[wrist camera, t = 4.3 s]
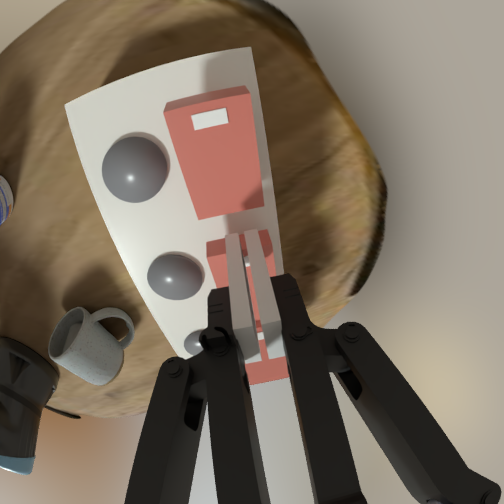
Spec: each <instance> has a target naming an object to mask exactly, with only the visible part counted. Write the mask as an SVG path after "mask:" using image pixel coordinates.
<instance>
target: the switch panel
mask: <svg viewBox="0 0 504 504" xmlns="http://www.w3.org/2000/svg"><path fill="white" fill-rule="evenodd" d="M243 85H245V86H246V87H247V89H248V90H249V92H250V94H251V102H252V109H253V117H254V124H255V132H256V140H257V148H258V156H259V164H260V172H261V181H262V189H263V198H264V206H263V207H258V208H253V209H249V210H244V211H239V212H234V213H229V214H225V215H220V216H216V217H211V218H207V219H202V220H198V217H197V215H196V212H195V209H194V206H193V203H192V200H191V197H190V195H189V192H188V189H187V186H186V183H185V180H184V177H183V174H182V171H181V168H180V165H179V162H178V159H177V156H176V152H175V149H174V146H173V143H172V140H171V137H170V133H169V130H168V127H167V124H166V121H165V117H164V114H163V111H164V108H165V106H166V103H167V102H170V101H174V100H177V99H181V98H185V97H189V96H193V95H197V94H202V93H206V92H211V91H216V90H221V89H226V88H231V87H237V86H243ZM65 109H66V113H67V117H68V120H69V124H70V127H71V131H72V134H73V138H74V141H75V144H76V147H77V150H78V153H79V157H80V159H81V162H82V165H83V168H84V171H85V174H86V177H87V179H88V182H89V185H90V187H91V190H92V192H93V195H94V197H95V200H96V202H97V205H98V207H99V210H100V212H101V214H102V217H103V219H104V221H105V224H106V226H107V228H108V230H109V233H110V235H111V237H112V239H113V241H114V243H115V245H116V248H117V250H118V252H119V254H120V256H121V258H122V260H123V262H124V264H125V266H126V268H127V270H128V272H129V274H130V276H131V277H132V279H133V281H134V283H135V285H136V287H137V289H138V290H139V292H140V294H141V296H142V298H143V299H144V301H145V303H146V305H147V306H148V308H149V310H150V312H151V313H152V315H153V317H154V318H155V320H156V322H157V323H158V325H159V327H160V328H161V330H162V331H163V333H164V335H165V336H166V338H167V339H168V341H169V343H170V344H171V346H172V347H173V349H174V350H175V352H176V353H177V355H178V356H179V357H182V358H184V359H185V360H186V359H188V358H190V357H192V356H195V355H197V354H198V353H200V352H201V351H202V350H203V348H202V346H201V344H200V342H199V341H198V340H199V335H200V334H201V332H202V331H203V330H204V329H205V328H207V327H208V313H207V308H208V306H207V297H208V295H209V293H210V291H211V289H216V288H217V287H216V284H215V281H214V278H213V275H212V272H211V270H210V267H209V264H208V261H207V258H206V242H208V241H213V240H217V239H222V238H225V235H228V234H233V233H238V234H239V235H241V234H244V231H248V230H253V229H257V230H258V231H260V230H265V229H267V230H268V233H269V236H270V239H271V242H272V246H273V254H274V261H275V269H276V276H278V275H283V274H284V270H283V261H282V252H281V243H280V235H279V227H278V219H277V211H276V203H275V196H274V188H273V181H272V174H271V167H270V160H269V153H268V146H267V139H266V133H265V126H264V120H263V114H262V108H261V101H260V95H259V89H258V84H257V78H256V72H255V66H254V61H253V55H252V50H251V47H244V48H237V49H230V50H224V51H219V52H213V53H208V54H203V55H199V56H194V57H190V58H186V59H182V60H178V61H174V62H171V63H167V64H164V65H160V66H157V67H154V68H151V69H147V70H144V71H141V72H139V73H136V74H133V75H130V76H127V77H125V78H122V79H120V80H117V81H114V82H112V83H110V84H107V85H105V86H102V87H100V88H98V89H96V90H93V91H91V92H89V93H87V94H85V95H83V96H81V97H79V98H77V99H75V100H73V101H71V102H69V103H67V104H65Z"/></svg>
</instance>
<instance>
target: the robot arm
mask: <svg viewBox="0 0 504 504" xmlns="http://www.w3.org/2000/svg"><path fill="white" fill-rule="evenodd" d="M244 235H245V241H246V246H247V251H248V257H249V262H250V268H251V273H252V278H253V284H254V289H255V294H256V300H257V305H258V310H259V316H260V321H261V326H262V330H263V335H264V339H265V344H266V348H267V352H268V357H269V359H274V358H278V357H283V356H285V357H286V361H287V369H288V374H289V377H290V382H291V387H292V391H293V397H294V402H295V406H296V411H297V416H298V421H299V425H300V431H301V436H302V441H303V446H304V450H305V455H306V461H307V466H308V471H309V476H310V481H311V487H312V492H313V496H314V503H315V504H367V501H366V499H365V497H364V495H363V494H362V492H361V488H360V485H359V480H358V476H357V472H356V468H355V465H354V460H353V456H352V453H351V449H350V445H349V441H348V437H347V434H346V430H345V426H344V423H343V419H342V415H341V412H340V409H339V405H338V401H337V398H336V395H335V391H334V388H333V384H332V381H331V377H330V374H329V372H333V373H334V375H335V376H336V378H337V380H338V381H339V383H340V384H341V386H342V387H343V389H344V391H345V392H346V394H347V395H348V396H349V398H350V400H351V401H352V403H353V405H354V406H355V408H356V409H357V411H358V412H359V414H360V415H361V417H362V419H363V420H364V422H365V423H366V425H367V426H368V428H369V430H370V431H371V433H372V434H373V436H374V437H375V439H376V441H377V442H378V444H379V446H380V447H381V448H382V450H383V452H384V453H385V455H386V456H387V458H388V459H389V461H390V463H391V464H392V466H393V467H394V469H395V471H396V472H397V474H398V476H399V477H400V479H401V480H402V482H403V483H404V485H405V487H406V488H407V490H408V491H409V492H410V494H411V495H412V496H413V497H414V498H415V499H416V500H417V501H418V502H419V503H420V504H498V502H499V500H500V497H501V488H500V486H499V485H498V484H497V483H495V482H493V481H491V480H489V479H487V478H485V477H483V476H481V475H480V474H478V473H476V472H474V471H472V470H471V469H469V468H468V467H467V465H466V464H465V462H464V461H463V459H462V458H461V456H460V455H459V453H458V452H457V450H456V449H455V447H454V446H453V445H452V443H451V442H450V440H449V439H448V437H447V436H446V434H445V433H444V432H443V430H442V429H441V427H440V426H439V425H438V423H437V421H436V420H435V419H434V417H433V416H432V415H431V413H430V412H429V410H428V409H427V408H426V406H425V405H424V404H423V402H422V401H421V399H420V398H419V397H418V395H417V394H416V393H415V391H414V390H413V389H412V387H411V386H410V385H409V383H408V382H407V381H406V379H405V378H404V377H403V375H402V374H401V373H400V371H399V370H398V369H397V368H396V366H395V365H394V364H393V362H392V361H391V360H390V359H389V357H388V356H387V355H386V354H385V352H384V351H383V350H382V348H381V347H380V346H379V345H378V343H377V342H376V341H375V339H374V338H373V337H372V336H371V334H370V333H369V332H368V331H367V330H366V328H365V327H363V326H362V325H361V324H359V323H356V322H347V323H343V324H342V325H341V326H339V327H338V329H324V328H320V327H317V326H316V325H314V324H313V323H312V322H311V321H310V319H309V317H308V314H307V311H306V308H305V305H304V302H303V299H302V296H301V294H300V291H299V289H298V285H297V282H296V280H295V279H294V278H293V277H292V276H291V275H290V274H289V273H287V274H283V275H278V276H273V277H270V276H269V272H268V268H267V264H266V261H265V257H264V253H263V249H262V245H261V241H260V238H259V234H258V230H257V229H253V230H248V231H244ZM225 244H226V257H227V270H228V282H229V286H227V287H222V288H216V289H211V291H210V293H209V295H208V297H207V306H208V308H207V313H208V327H207V328H205V329H204V330H203V331H202V332H201V334H200V335H199V340H198V341H199V342H200V344H201V346H202V348H203V350H202V351H201V352H200V353H198V354H197V355H195V356H192V357H190V358H188V359H186V360H185V359H184V358H182V357H178V356H177V357H171V358H169V359H167V360H166V361H165V362H164V363H163V364H162V366H161V367H160V370H159V373H158V377H157V380H156V383H155V386H154V390H153V393H152V396H151V400H150V403H149V407H148V410H147V414H146V417H145V421H144V425H143V428H142V432H141V436H140V439H139V443H138V447H137V451H136V455H135V459H134V463H133V467H132V472H131V476H130V480H129V484H128V489H127V493H126V498H125V503H124V504H188V503H189V497H190V491H191V486H192V480H193V475H194V469H195V464H196V458H197V452H198V447H199V441H200V437H201V431H202V426H203V421H204V415H205V410H206V405H207V402H208V415H209V426H210V438H211V449H212V458H213V466H214V475H215V484H216V491H217V498H218V504H271V503H270V498H269V493H268V488H267V483H266V477H265V472H264V467H263V461H262V456H261V450H260V445H259V439H258V434H257V428H256V423H255V416H254V410H253V405H252V398H251V392H250V387H249V380H248V374H247V372H246V368H245V363H246V364H247V363H253V362H258V361H262V358H261V352H260V346H259V340H258V335H257V329H256V323H255V317H254V311H253V305H252V299H251V294H250V288H249V282H248V276H247V270H246V265H245V261H244V256H243V252H242V248H241V243H240V239H239V234H238V233H233V234H228V235H225ZM58 381H59V377H58V374H57V373H56V371H55V370H54V368H53V367H52V366H51V365H50V364H49V363H48V362H47V361H46V360H44V359H43V358H42V357H41V356H40V355H38V354H37V353H35V352H34V351H33V350H31V349H29V348H28V347H26V346H24V345H23V344H21V343H19V342H17V341H14V340H12V339H9V338H4V337H1V338H0V467H1V468H4V469H6V470H9V471H12V472H15V473H18V474H23V475H28V474H30V473H31V472H32V468H33V463H34V459H35V449H36V442H37V435H38V429H39V424H40V418H41V414H42V410H43V408H44V407H45V405H46V404H47V402H48V401H49V399H50V398H51V396H52V394H53V393H54V392H55V390H56V388H57V384H58Z"/></svg>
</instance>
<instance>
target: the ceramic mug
mask: <svg viewBox="0 0 504 504" xmlns="http://www.w3.org/2000/svg"><path fill="white" fill-rule="evenodd" d="M107 317H119V318H122V319H124V320H125V322H126V326H127V327H128V328H129V333H128V334H127V335H126V337H125V338H124V339H122V340H121V341H120V342H118V341H117V339H116V338H115V337H114V336H113V335H112V334H110V333H109V332H108V331H107V330H106V329H105V328H104V327H103V326H102V325H101V324H100V323H99V322H98V320H101V319H104V318H107ZM134 333H135V331H134V326H133V323H132V320H131V318H130V317H129V316H128V315H127V314H126V313H125V312H124V311H123V310H121V309H118V308H112V307H109V308H103V309H101V310H98V311H96V312H94V313H93V314H90V313H89V312H88V311H87V310H86V309H85V308H83V307H76V308H73V309H71V310H70V311H68V312H67V313H66V314H65V315H64V316H63V317H62V318H61V319H60V321H59V322H58V323H57V325H56V327H55V329H54V331H53V333H52V335H51V338H50V341H49V346H48V353H49V356H50V358H51V359H52V360H53V361H54V362H56V363H58V364H59V365H61V366H63V367H64V368H66V369H67V370H69V371H71V372H72V373H74V374H76V375H77V376H79V377H81V378H82V379H84V380H86V381H87V382H89V383H92V384H95V385H99V386H104V385H107V384H109V383H111V382H112V381H113V380H114V379H115V378H116V377H117V376H118V375H119V373H120V371H121V369H122V367H123V363H124V351H123V349H125V348H126V347H128V346H129V345H130V344H131V342H132V340H133V339H134Z"/></svg>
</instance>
